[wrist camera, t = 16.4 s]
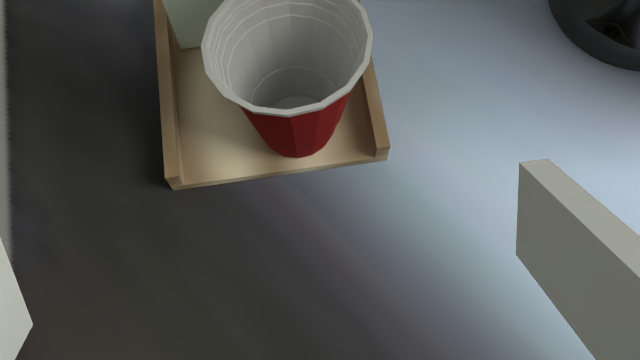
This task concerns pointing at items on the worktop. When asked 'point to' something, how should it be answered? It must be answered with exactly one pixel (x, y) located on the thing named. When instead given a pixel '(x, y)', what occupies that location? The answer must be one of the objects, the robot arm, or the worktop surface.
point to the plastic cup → (288, 65)
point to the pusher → (190, 19)
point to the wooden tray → (245, 124)
